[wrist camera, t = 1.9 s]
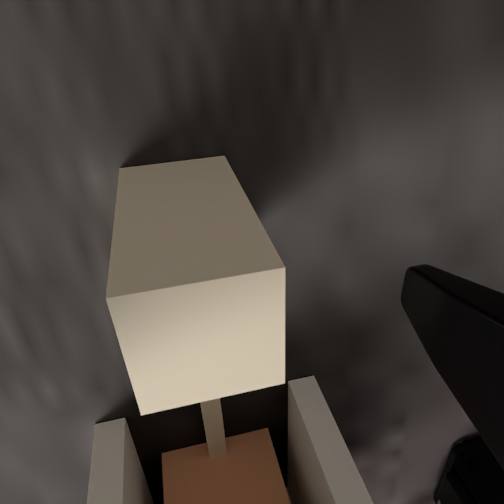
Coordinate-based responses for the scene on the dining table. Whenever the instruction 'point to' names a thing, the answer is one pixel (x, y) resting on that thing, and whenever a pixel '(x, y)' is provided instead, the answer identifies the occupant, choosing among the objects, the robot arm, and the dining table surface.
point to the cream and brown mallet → (199, 319)
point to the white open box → (298, 466)
